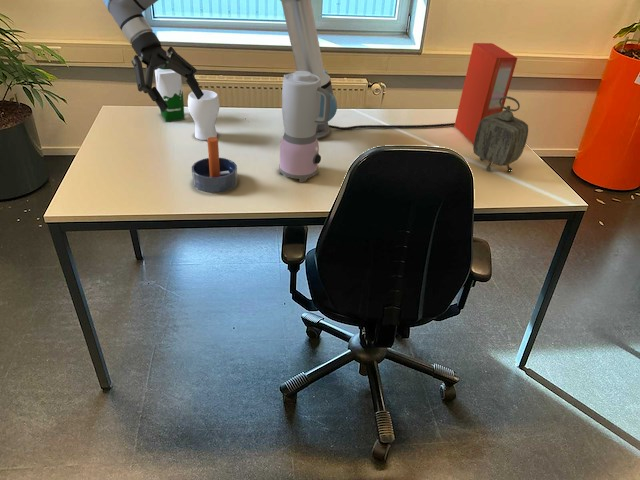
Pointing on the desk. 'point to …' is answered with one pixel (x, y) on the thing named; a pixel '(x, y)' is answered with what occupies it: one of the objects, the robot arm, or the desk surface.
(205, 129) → the cup
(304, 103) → the blender
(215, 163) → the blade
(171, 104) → the milk carton
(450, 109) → the desk surface
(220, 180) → the bowl
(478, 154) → the tabletop clock
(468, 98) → the file binder
